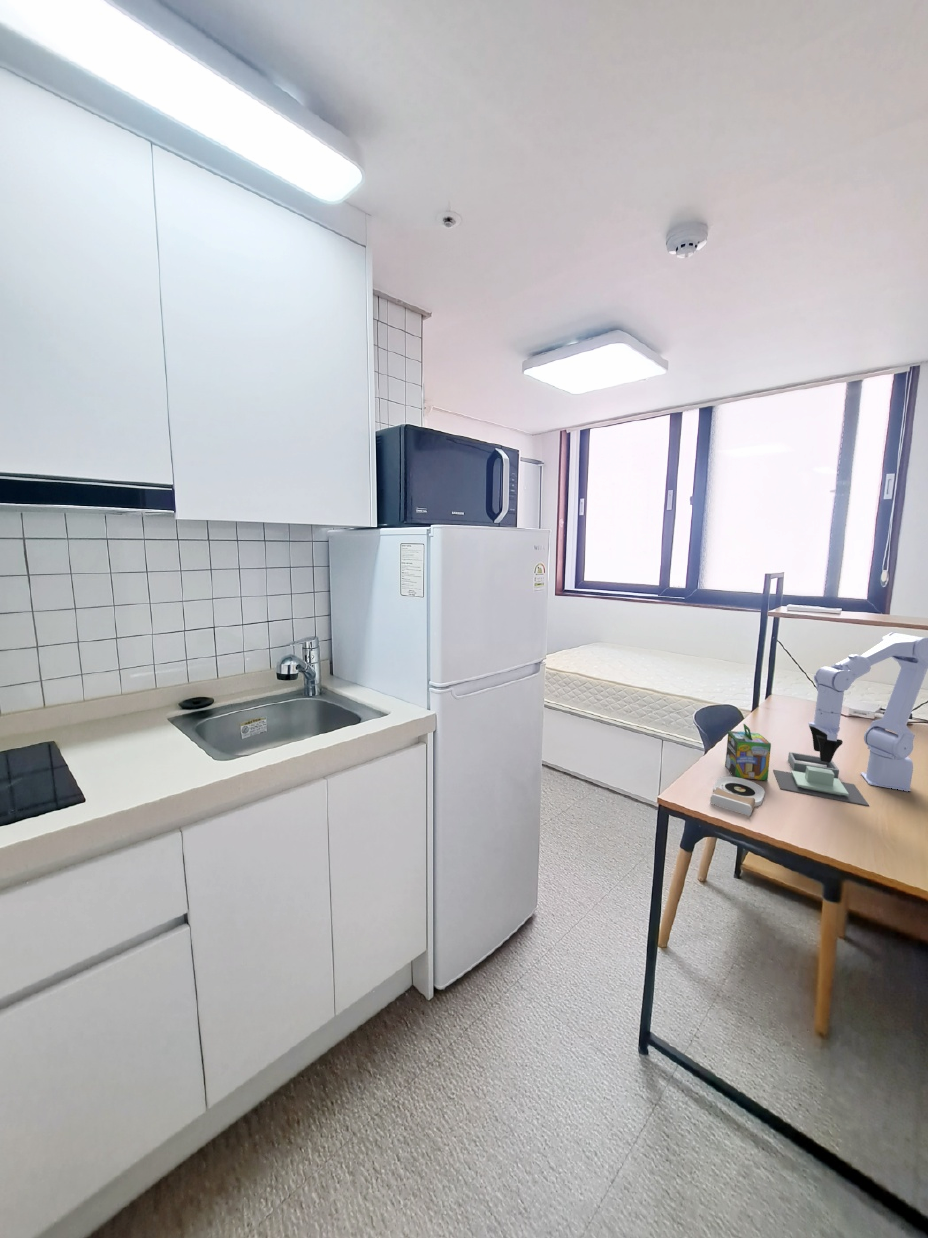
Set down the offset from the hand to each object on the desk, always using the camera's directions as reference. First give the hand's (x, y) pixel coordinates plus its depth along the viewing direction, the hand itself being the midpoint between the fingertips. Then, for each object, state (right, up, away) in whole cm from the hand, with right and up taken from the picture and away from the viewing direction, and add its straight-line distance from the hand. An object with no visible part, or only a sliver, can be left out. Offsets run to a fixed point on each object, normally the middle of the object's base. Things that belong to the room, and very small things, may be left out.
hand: (821, 756), depth 136 cm
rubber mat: (0, -9, +1) cm, 9 cm away
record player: (-26, -10, -4) cm, 29 cm away
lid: (0, -9, +1) cm, 9 cm away
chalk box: (-16, -8, +9) cm, 20 cm away
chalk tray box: (+6, -8, +12) cm, 16 cm away
